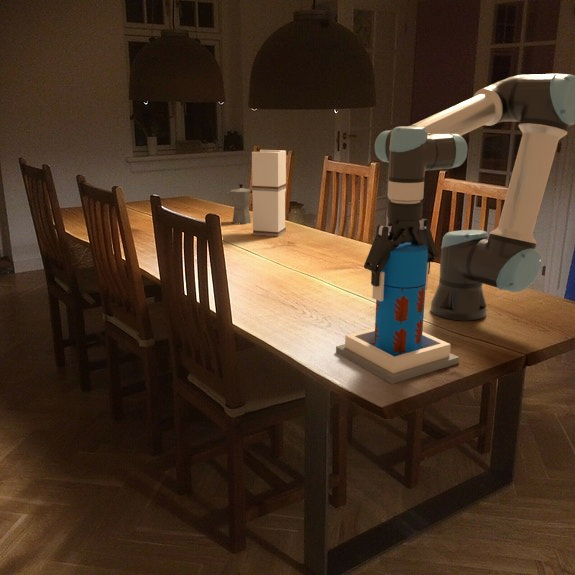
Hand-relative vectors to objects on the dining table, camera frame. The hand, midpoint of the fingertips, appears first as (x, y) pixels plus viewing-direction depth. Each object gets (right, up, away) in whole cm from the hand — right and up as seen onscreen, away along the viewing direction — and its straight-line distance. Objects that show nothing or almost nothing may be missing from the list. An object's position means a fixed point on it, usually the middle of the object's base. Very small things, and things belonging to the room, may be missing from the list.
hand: (400, 294), depth 142 cm
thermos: (0, -14, +4) cm, 14 cm away
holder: (0, -15, +5) cm, 16 cm away
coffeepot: (-46, +32, +154) cm, 164 cm away
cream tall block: (-33, +25, +131) cm, 138 cm away
